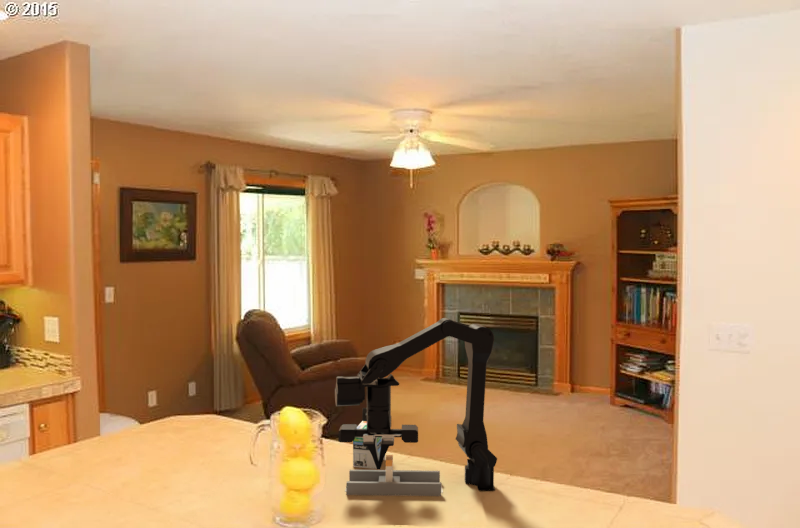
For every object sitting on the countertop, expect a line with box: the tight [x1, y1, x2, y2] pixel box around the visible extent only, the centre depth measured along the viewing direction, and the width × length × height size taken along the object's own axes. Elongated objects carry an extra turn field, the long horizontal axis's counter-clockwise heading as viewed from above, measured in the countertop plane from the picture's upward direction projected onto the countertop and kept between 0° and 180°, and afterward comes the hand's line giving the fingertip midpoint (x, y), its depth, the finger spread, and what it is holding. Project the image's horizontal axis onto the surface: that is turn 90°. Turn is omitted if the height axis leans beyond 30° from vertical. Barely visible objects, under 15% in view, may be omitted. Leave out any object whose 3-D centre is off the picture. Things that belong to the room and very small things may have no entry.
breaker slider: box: [378, 454, 400, 482], centre depth 161 cm, size 5×6×7 cm
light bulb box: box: [352, 421, 386, 470], centre depth 180 cm, size 11×7×11 cm, turn 168°
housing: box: [344, 469, 444, 497], centre depth 161 cm, size 24×16×4 cm, turn 89°
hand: (378, 468), depth 161 cm, fingers closed
